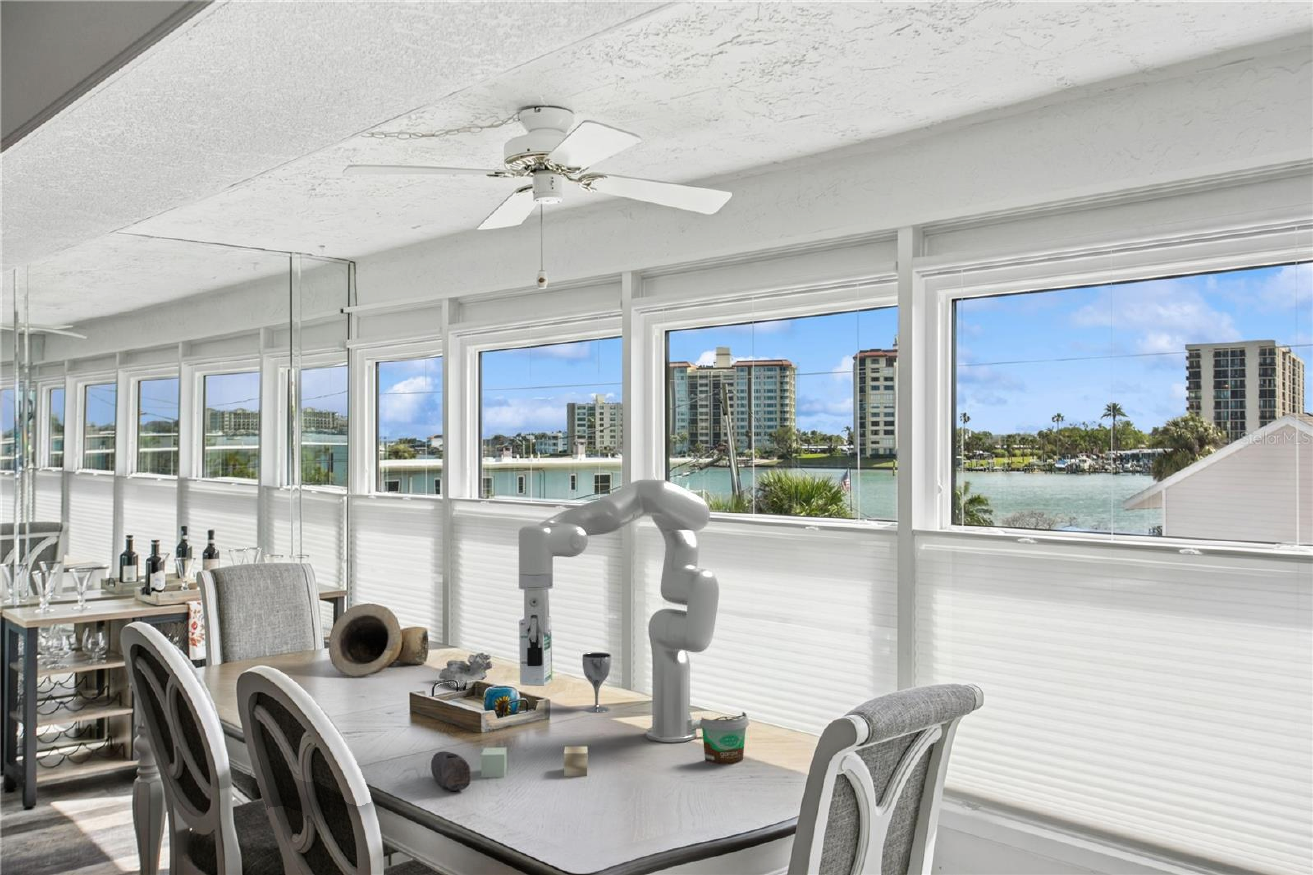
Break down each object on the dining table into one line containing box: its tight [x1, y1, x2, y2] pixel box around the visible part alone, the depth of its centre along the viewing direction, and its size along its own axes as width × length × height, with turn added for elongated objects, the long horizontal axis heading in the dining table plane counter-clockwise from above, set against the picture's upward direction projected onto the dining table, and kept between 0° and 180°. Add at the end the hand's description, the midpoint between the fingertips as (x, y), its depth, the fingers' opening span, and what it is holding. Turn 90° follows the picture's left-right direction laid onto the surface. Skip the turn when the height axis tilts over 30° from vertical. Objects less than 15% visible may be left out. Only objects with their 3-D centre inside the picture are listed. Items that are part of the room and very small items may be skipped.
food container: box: [699, 711, 750, 765], centre depth 222 cm, size 12×6×10 cm, turn 117°
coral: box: [438, 652, 493, 689], centre depth 298 cm, size 17×14×10 cm
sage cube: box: [480, 747, 508, 778], centre depth 213 cm, size 5×5×5 cm
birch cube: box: [563, 746, 588, 777], centre depth 214 cm, size 5×5×5 cm
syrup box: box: [518, 615, 553, 687], centre depth 214 cm, size 6×6×14 cm
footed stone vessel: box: [328, 603, 429, 677], centre depth 323 cm, size 23×29×30 cm
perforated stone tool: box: [430, 751, 472, 792], centre depth 205 cm, size 15×5×7 cm, turn 33°
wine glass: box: [581, 651, 612, 714], centre depth 268 cm, size 8×8×15 cm
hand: (535, 661), depth 214 cm, fingers closed on syrup box, 6 cm apart
